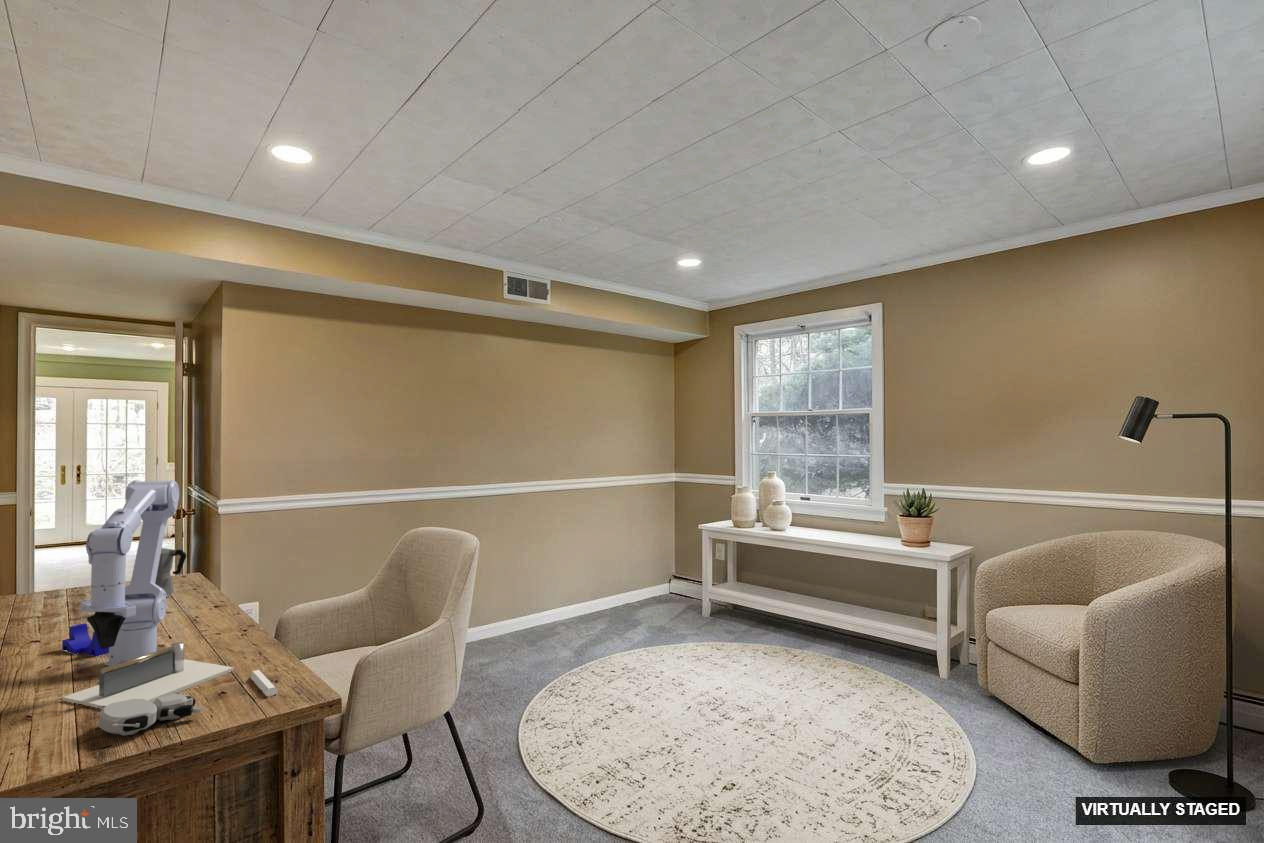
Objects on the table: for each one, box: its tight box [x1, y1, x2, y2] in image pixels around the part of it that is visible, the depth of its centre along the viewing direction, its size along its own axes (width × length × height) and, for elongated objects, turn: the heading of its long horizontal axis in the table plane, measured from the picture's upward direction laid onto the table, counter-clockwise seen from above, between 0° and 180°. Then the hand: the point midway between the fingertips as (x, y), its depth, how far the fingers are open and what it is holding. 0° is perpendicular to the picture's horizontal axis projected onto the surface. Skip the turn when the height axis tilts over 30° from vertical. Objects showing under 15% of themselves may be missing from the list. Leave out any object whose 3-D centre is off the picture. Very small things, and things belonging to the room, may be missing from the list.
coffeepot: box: [155, 547, 187, 595], centre depth 213 cm, size 15×9×18 cm, turn 95°
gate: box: [98, 646, 173, 696], centre depth 137 cm, size 2×14×6 cm, turn 161°
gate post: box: [170, 641, 185, 673], centre depth 145 cm, size 2×2×7 cm
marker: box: [249, 669, 279, 697], centre depth 140 cm, size 3×2×16 cm
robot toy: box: [96, 692, 203, 737], centre depth 121 cm, size 12×4×15 cm
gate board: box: [61, 658, 235, 710], centre depth 139 cm, size 18×24×1 cm
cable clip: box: [61, 623, 109, 657], centre depth 160 cm, size 12×4×6 cm, turn 66°
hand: (107, 647), depth 137 cm, fingers closed
